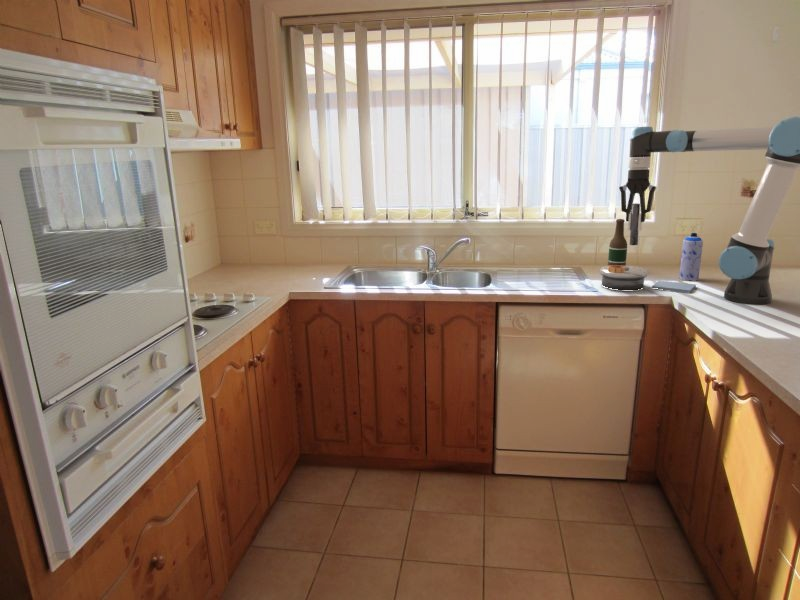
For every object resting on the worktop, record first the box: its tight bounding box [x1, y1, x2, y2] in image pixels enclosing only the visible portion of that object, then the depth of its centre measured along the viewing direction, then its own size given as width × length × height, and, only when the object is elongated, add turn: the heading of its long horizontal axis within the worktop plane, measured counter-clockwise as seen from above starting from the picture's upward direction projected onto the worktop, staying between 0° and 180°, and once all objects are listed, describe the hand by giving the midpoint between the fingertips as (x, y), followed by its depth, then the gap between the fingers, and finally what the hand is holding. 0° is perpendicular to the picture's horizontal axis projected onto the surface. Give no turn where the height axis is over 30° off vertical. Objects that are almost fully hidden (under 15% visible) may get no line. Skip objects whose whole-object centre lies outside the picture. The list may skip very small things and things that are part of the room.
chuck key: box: [629, 202, 641, 246], centre depth 219 cm, size 3×3×16 cm
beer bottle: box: [607, 218, 628, 266], centre depth 258 cm, size 8×8×24 cm
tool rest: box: [651, 280, 697, 294], centre depth 227 cm, size 14×12×1 cm
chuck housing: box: [601, 275, 645, 290], centre depth 230 cm, size 16×16×5 cm
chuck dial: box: [599, 265, 649, 279], centre depth 229 cm, size 18×18×4 cm
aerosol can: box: [678, 232, 704, 281], centre depth 240 cm, size 8×8×20 cm
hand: (634, 230), depth 220 cm, fingers closed on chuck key, 3 cm apart
